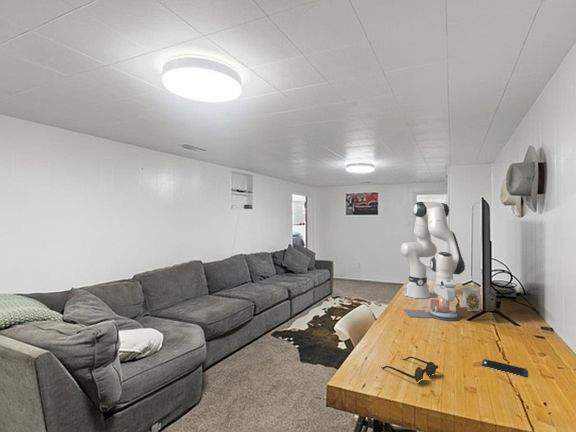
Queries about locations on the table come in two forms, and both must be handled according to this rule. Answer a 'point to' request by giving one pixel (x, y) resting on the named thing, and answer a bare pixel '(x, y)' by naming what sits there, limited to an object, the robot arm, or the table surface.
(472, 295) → the pitcher
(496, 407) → the table surface
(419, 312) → the mat
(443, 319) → the base plate
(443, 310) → the jug
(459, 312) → the turntable
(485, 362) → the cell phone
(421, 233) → the robot arm
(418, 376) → the eyeglasses
